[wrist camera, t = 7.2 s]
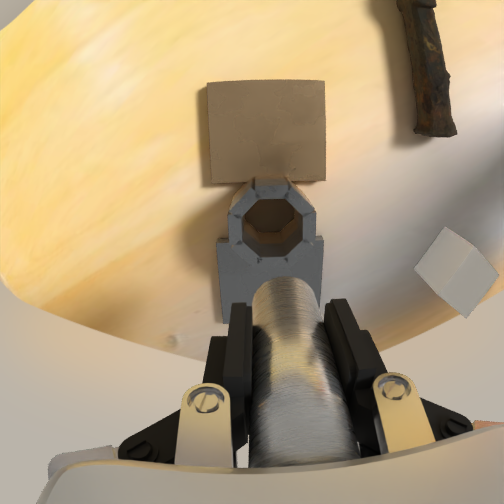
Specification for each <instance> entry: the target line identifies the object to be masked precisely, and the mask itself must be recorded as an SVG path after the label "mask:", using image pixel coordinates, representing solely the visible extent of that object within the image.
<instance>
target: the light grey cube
mask: <svg viewBox="0 0 504 504" xmlns="http://www.w3.org/2000/svg"><path fill="white" fill-rule="evenodd" d="M414 270H415V271H416V272H417V273H418V274H419V275H420V277H421V278H422V279H423V280H424V281H425V282H426V283H427V284H428V285H429V286H430V287H431V288H432V289H433V291H434V292H435V293H436V294H437V295H438V296H439V297H441V298H442V299H443V300H444V301H446V302H447V303H448V304H449V305H450V306H452V307H453V308H454V309H455V310H456V311H458V312H459V313H460V314H461V315H462V316H464V317H465V318H467V317H468V316H469V314H470V313H471V312H472V311H473V309H474V308H475V307H476V306H477V305H478V303H479V302H480V301H481V299H482V298H483V297H484V295H485V294H486V293H487V291H488V290H489V289H490V287H491V286H492V285H493V283H494V282H495V280H496V279H497V278H498V276H499V274H498V272H497V271H496V270H495V269H494V268H493V267H492V265H491V264H490V263H489V262H488V261H487V260H486V258H485V257H484V256H483V255H482V254H481V253H480V252H479V250H478V249H477V248H476V247H475V246H474V245H472V244H471V243H469V242H468V241H467V240H465V239H464V238H462V237H461V236H459V235H458V234H456V233H455V232H453V231H452V230H450V229H448V228H447V227H445V226H444V228H443V229H442V231H441V232H440V233H439V235H438V236H437V238H436V239H435V240H434V242H433V243H432V245H431V246H430V247H429V249H428V250H427V251H426V253H425V254H424V256H423V257H422V258H421V260H420V261H419V262H418V263H417V265H416V266H415V267H414Z"/></svg>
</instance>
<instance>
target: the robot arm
mask: <svg viewBox="0 0 504 504" xmlns="http://www.w3.org/2000/svg"><path fill="white" fill-rule="evenodd" d="M324 326H325V330H326V333H327V336H328V340H329V343H330V346H331V349H332V353H333V356H334V360H335V363H336V366H337V370H338V373H339V377H340V380H341V384H342V387H343V391H344V394H345V398H346V402H347V405H348V409H349V413H350V416H351V420H352V424H353V428H354V431H355V435H356V439H357V443H358V447H359V451H360V455H361V459H355V460H348V461H341V462H333V463H325V464H315V465H304V466H290V467H269V468H238V462H237V450H238V449H240V448H241V447H242V446H244V445H245V444H246V443H248V435H249V420H250V405H251V402H252V358H253V314H252V306H247V303H246V302H239V303H232V306H231V314H230V322H229V330H228V336H212V337H211V340H210V346H209V351H208V356H207V361H206V367H205V372H204V377H203V383H202V384H198V385H195V386H193V387H191V388H190V389H188V390H187V391H186V392H185V394H184V395H183V398H182V404H181V409H179V410H178V411H176V412H174V413H172V414H171V415H169V416H167V417H165V418H164V419H162V420H160V421H158V422H156V423H155V424H153V425H151V426H149V427H147V428H145V429H144V430H142V431H140V432H138V433H136V434H134V435H132V436H130V437H129V438H127V439H126V440H124V441H123V442H122V444H121V445H120V446H119V447H115V448H113V447H112V445H109V446H104V447H99V448H93V449H87V450H81V451H75V452H68V453H62V454H59V455H56V456H55V457H54V458H52V459H51V461H50V463H49V466H48V478H49V481H48V482H47V484H46V486H45V488H44V489H43V491H42V493H41V495H40V497H39V499H38V501H37V503H36V504H504V422H490V421H478V420H475V421H474V422H473V423H471V422H470V421H469V420H468V419H467V418H466V417H465V416H463V415H461V414H459V413H456V412H454V411H451V410H449V409H446V408H444V407H442V406H439V405H437V404H434V403H432V402H430V401H427V400H425V399H422V398H420V397H419V395H418V392H417V389H416V387H415V385H414V383H413V381H412V380H411V379H410V378H408V377H407V376H405V375H403V374H400V373H393V372H389V373H388V372H387V370H386V368H385V365H384V363H383V361H382V359H381V357H380V355H379V352H378V350H377V348H376V346H375V344H374V342H373V340H372V337H371V335H370V333H369V332H368V331H367V330H360V328H359V326H358V324H357V322H356V320H355V317H354V315H353V313H352V311H351V309H350V307H349V304H348V302H347V300H346V299H331V301H330V303H326V305H325V314H324Z"/></svg>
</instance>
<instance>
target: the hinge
mask: <svg viewBox="0 0 504 504" xmlns="http://www.w3.org/2000/svg"><path fill="white" fill-rule="evenodd" d="M207 99H208V121H209V142H210V160H211V176H212V183H233V182H245V183H244V184H243V186H242V187H241V188H240V189H239V190H238V191H237V192H236V193H235V194H234V197H233V199H232V202H231V205H230V209H229V212H228V231H229V238H228V239H217V242H216V247H217V259H218V271H219V282H220V293H221V304H222V314H223V324H229V322H230V314H231V306H232V303H239V302H246V303H247V306H252V301H253V297H254V294H255V293H256V291H257V290H258V288H259V287H260V286H261V285H262V284H264V283H265V282H267V281H268V280H271V279H273V278H276V277H282V276H289V277H295V278H298V279H300V280H302V281H304V282H305V283H307V284H308V285H309V286H310V287H311V289H312V290H313V292H314V295H315V298H316V301H317V304H318V307H320V295H321V280H322V265H323V246H324V240H323V238H322V236H316V211H315V210H314V209H315V208H314V207H313V206H312V204H311V203H310V201H309V200H308V198H307V197H306V196H305V194H304V193H303V192H302V191H301V190H300V189H299V188H298V187H297V186H296V185H295V184H294V183H293V182H292V181H326V116H325V83H324V81H319V80H241V81H224V82H210V83H207ZM259 199H286V200H287V201H288V202H289V203H290V204H291V205H292V206H293V207H294V219H293V220H292V221H291V222H290V223H288V224H287V225H286V226H285V227H284V228H283V229H282V230H281V231H280V232H263V233H260V232H258V231H257V230H256V229H255V228H254V227H253V226H252V225H251V224H250V223H248V222H247V221H246V220H245V213H246V212H247V211H248V210H249V209H250V208H251V207H252V206H253V205H254V204H255V203H256V202H257V201H258V200H259Z"/></svg>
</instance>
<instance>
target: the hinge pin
mask: <svg viewBox="0 0 504 504" xmlns="http://www.w3.org/2000/svg"><path fill="white" fill-rule="evenodd" d="M252 314H253V358H252V402H251V405H250V420H249V465H248V468H269V467H290V466H304V465H315V464H325V463H333V462H341V461H348V460H355V459H361V455H360V451H359V447H358V443H357V439H356V435H355V431H354V428H353V424H352V420H351V416H350V413H349V409H348V405H347V402H346V398H345V394H344V391H343V387H342V384H341V380H340V377H339V373H338V370H337V366H336V363H335V360H334V356H333V353H332V349H331V346H330V343H329V340H328V336H327V333H326V330H325V326H324V323H323V320H322V317H321V314H320V310H319V307H318V304H317V301H316V298H315V295H314V292H313V290H312V289H311V287H310V286H309V285H308V284H307V283H305V282H304V281H302V280H300V279H298V278H295V277H289V276H282V277H276V278H273V279H271V280H268V281H267V282H265V283H264V284H262V285H261V286H260V287H259V288H258V290H257V291H256V293H255V294H254V297H253V301H252Z"/></svg>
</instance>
